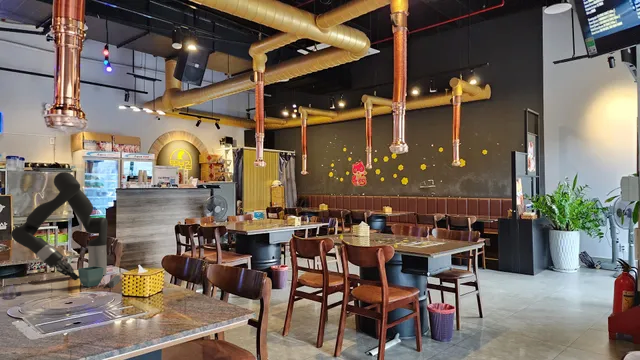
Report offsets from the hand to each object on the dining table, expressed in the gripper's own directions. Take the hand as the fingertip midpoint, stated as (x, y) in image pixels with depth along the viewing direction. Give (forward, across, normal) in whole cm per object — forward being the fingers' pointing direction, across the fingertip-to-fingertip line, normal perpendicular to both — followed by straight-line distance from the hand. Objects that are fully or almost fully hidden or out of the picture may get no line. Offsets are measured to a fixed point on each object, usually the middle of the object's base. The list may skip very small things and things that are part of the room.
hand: (77, 278), depth 207 cm
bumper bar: (+15, -1, +9) cm, 18 cm away
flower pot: (+7, -1, +1) cm, 7 cm away
